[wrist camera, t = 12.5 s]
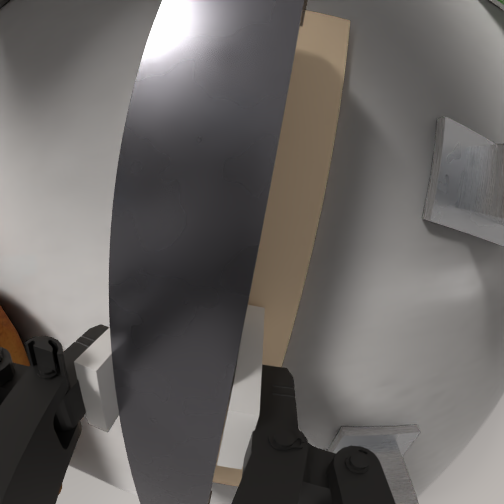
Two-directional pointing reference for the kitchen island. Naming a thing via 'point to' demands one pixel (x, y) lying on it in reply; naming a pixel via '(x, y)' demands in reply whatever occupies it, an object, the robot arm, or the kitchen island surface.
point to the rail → (192, 228)
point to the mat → (297, 186)
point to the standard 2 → (466, 182)
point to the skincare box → (499, 3)
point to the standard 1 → (384, 453)
